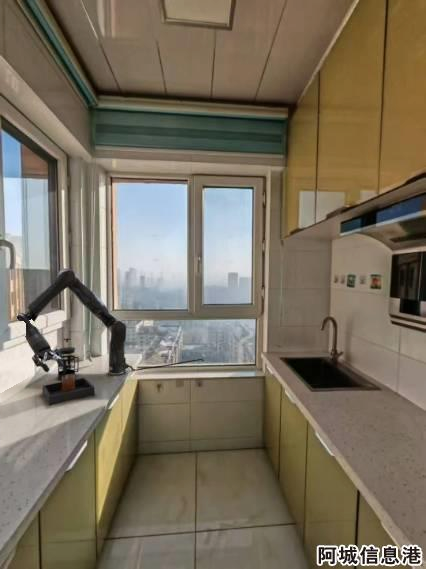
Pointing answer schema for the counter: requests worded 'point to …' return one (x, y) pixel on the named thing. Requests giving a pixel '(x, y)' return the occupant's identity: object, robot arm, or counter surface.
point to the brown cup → (68, 383)
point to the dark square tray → (56, 396)
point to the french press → (67, 361)
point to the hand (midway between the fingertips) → (55, 368)
